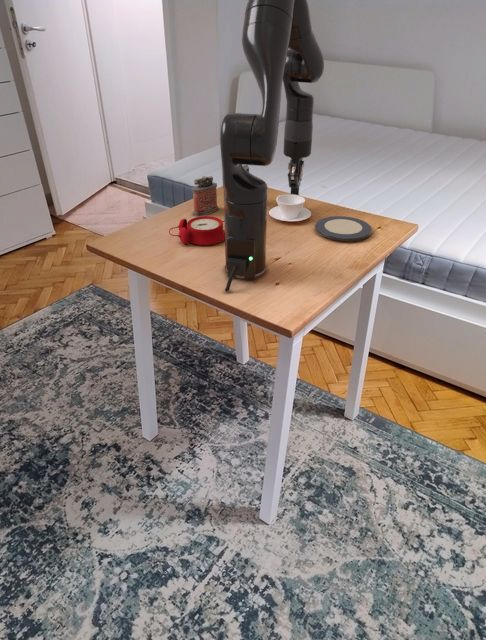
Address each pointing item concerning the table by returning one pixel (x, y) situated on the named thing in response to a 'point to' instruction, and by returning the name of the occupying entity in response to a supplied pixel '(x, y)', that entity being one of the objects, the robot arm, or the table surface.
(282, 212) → the teacup
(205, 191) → the lighter
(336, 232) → the plate
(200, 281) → the table surface
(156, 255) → the table surface
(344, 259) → the table surface
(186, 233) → the alarm clock
